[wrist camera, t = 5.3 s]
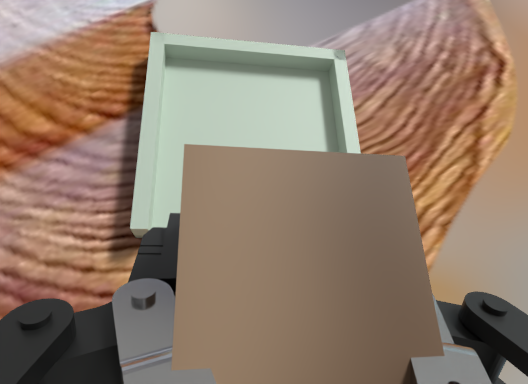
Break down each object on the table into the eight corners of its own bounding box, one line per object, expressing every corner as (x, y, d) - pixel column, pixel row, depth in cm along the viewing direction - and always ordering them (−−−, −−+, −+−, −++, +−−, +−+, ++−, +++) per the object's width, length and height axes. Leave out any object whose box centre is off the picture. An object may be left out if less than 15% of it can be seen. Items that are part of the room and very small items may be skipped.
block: (187, 365, 14) (167, 426, 5) (192, 253, 16) (184, 143, 7) (297, 360, 15) (454, 403, 6) (290, 254, 17) (404, 156, 7)
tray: (136, 237, 27) (129, 228, 25) (154, 52, 34) (151, 32, 31) (359, 239, 30) (372, 230, 27) (335, 68, 36) (344, 50, 34)
